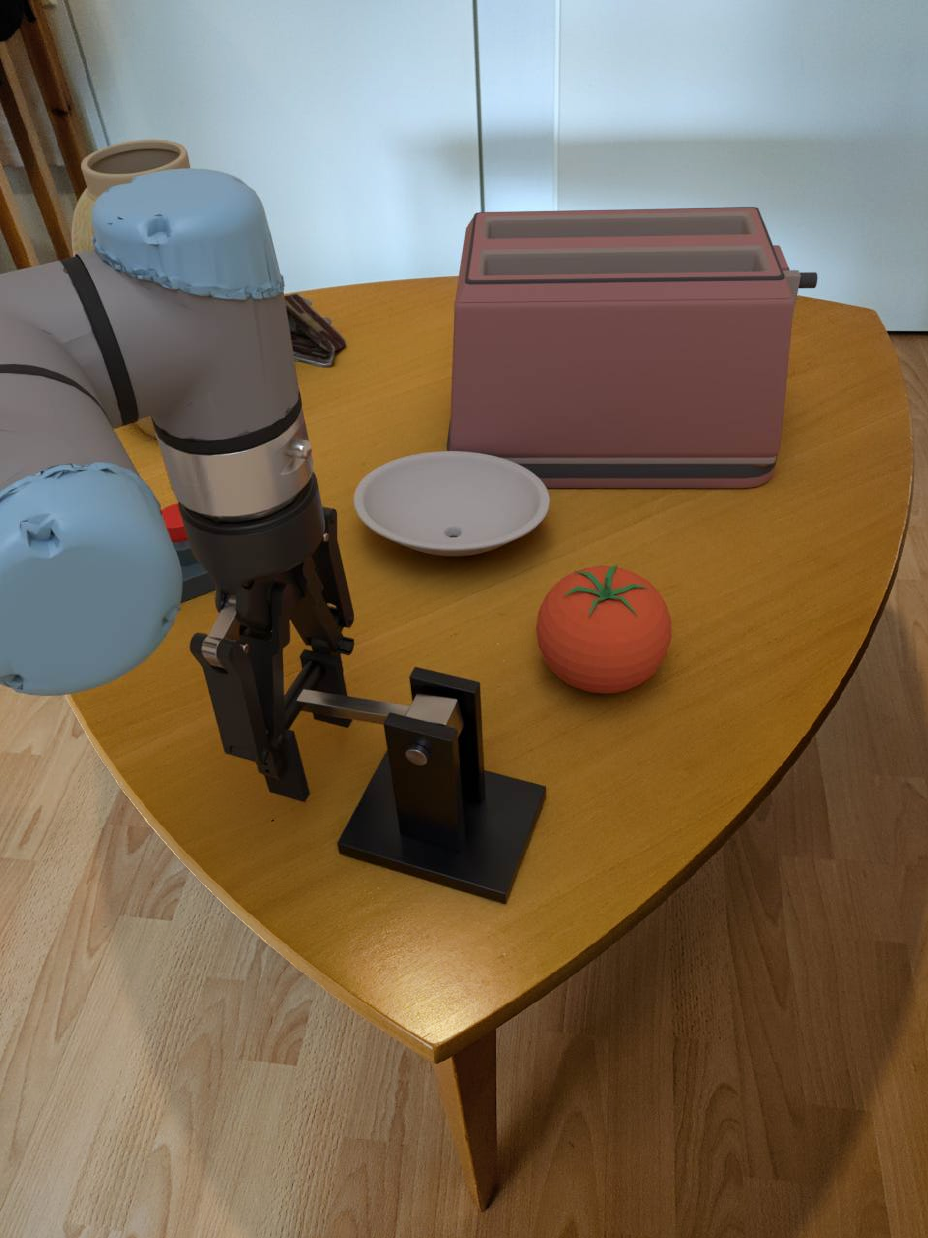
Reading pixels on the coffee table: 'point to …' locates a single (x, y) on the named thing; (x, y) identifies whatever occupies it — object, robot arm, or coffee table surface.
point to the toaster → (624, 346)
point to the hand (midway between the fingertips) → (312, 754)
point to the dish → (451, 502)
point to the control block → (192, 573)
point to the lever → (363, 703)
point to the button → (174, 523)
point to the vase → (118, 169)
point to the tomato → (603, 629)
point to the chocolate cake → (311, 332)
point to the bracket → (444, 801)
